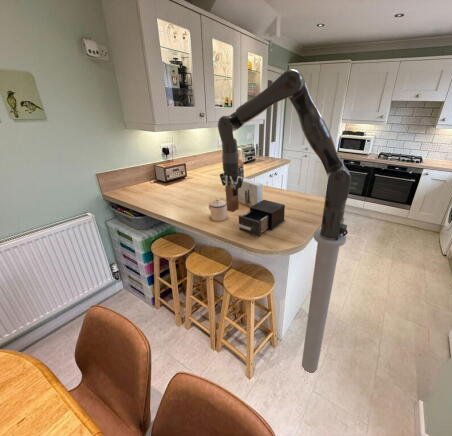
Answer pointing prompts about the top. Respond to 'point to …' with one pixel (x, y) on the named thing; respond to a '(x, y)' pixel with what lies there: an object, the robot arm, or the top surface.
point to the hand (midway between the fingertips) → (232, 194)
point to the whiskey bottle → (240, 167)
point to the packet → (231, 199)
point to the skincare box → (250, 192)
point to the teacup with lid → (218, 210)
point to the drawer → (254, 222)
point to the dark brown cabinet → (271, 211)
